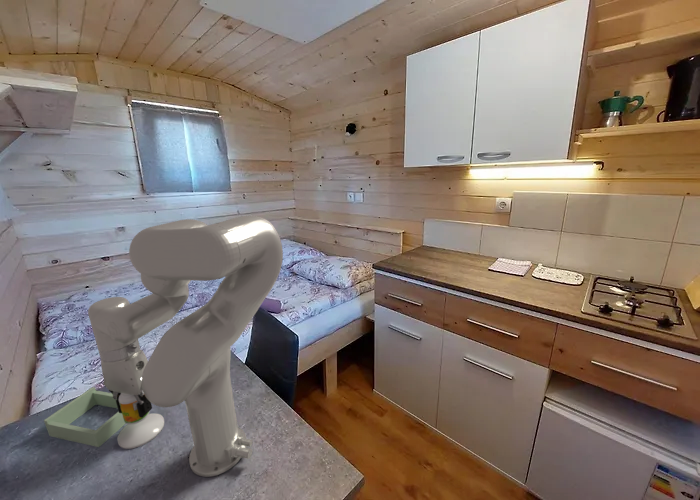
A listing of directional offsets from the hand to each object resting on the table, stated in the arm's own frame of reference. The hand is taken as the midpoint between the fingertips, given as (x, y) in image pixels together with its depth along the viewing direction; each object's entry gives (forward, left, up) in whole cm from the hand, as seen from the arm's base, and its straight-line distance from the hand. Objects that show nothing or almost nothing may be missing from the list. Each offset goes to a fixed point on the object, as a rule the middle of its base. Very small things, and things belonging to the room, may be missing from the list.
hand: (135, 410), depth 76 cm
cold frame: (+14, 0, -7) cm, 16 cm away
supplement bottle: (0, 0, -2) cm, 2 cm away
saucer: (0, 0, -7) cm, 7 cm away
